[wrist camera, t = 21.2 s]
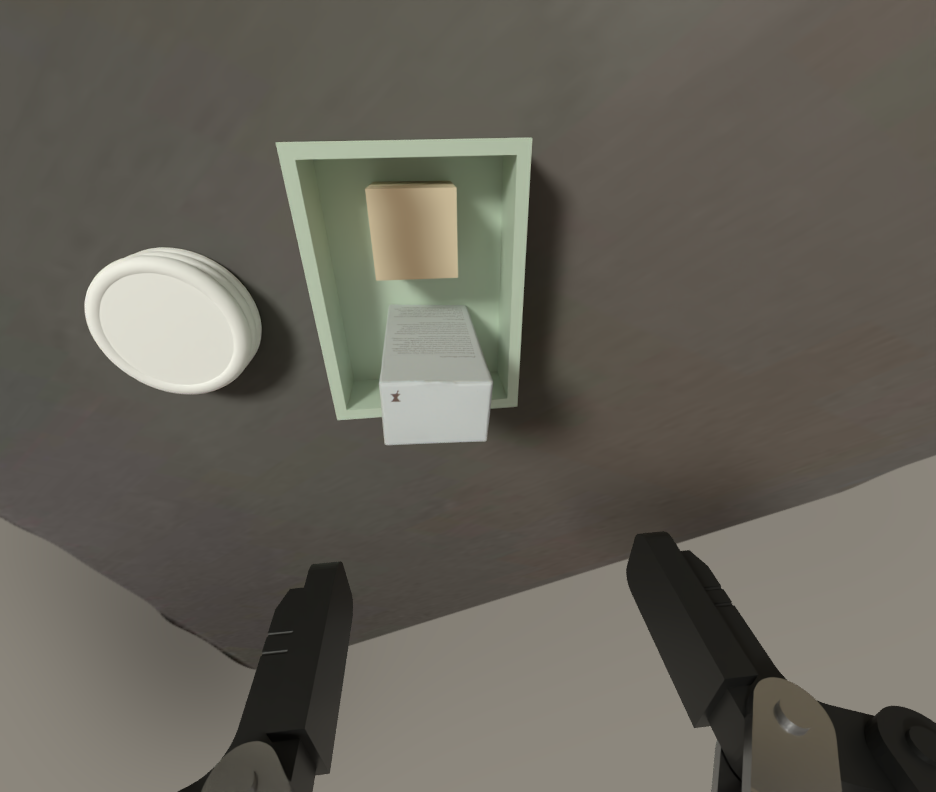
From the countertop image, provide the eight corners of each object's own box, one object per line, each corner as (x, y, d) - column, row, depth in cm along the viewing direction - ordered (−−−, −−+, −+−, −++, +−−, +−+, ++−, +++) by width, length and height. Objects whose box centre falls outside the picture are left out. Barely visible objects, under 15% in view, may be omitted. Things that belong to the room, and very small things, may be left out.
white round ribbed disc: (180, 215, 27) (152, 223, 24) (292, 331, 32) (279, 350, 29) (81, 298, 29) (43, 315, 26) (200, 396, 34) (180, 419, 31)
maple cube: (449, 180, 27) (456, 187, 23) (451, 258, 30) (457, 277, 26) (372, 181, 27) (364, 188, 22) (381, 260, 29) (376, 280, 25)
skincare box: (391, 354, 33) (380, 447, 23) (388, 302, 31) (375, 380, 21) (466, 354, 34) (488, 444, 24) (468, 303, 32) (494, 379, 21)
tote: (513, 138, 27) (532, 137, 23) (505, 375, 36) (517, 406, 32) (298, 142, 26) (275, 142, 21) (346, 386, 35) (337, 420, 31)
